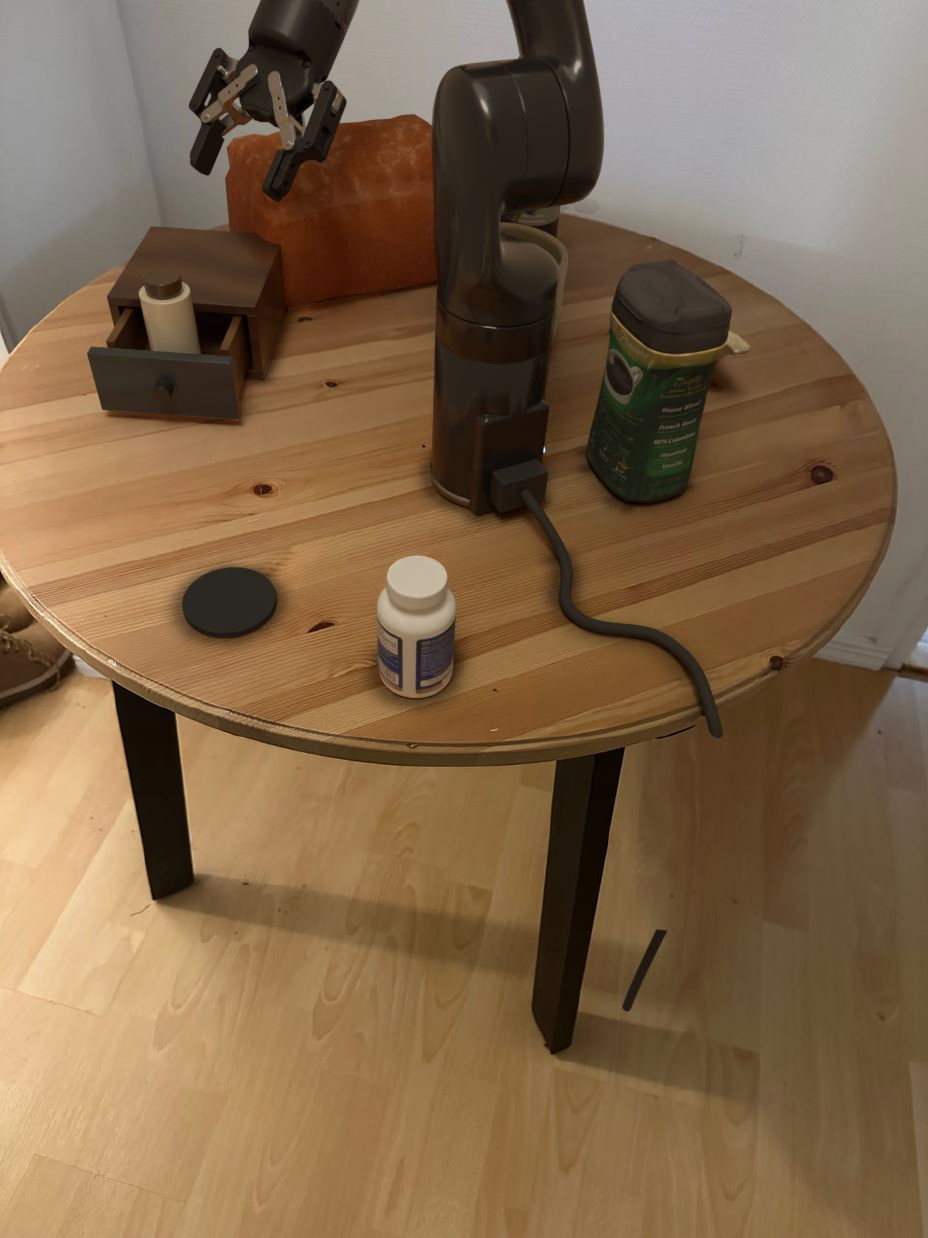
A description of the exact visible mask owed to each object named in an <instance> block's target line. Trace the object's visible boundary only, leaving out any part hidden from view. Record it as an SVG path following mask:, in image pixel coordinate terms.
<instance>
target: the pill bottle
mask: <svg viewBox="0 0 928 1238" xmlns="http://www.w3.org/2000/svg"><path fill="white" fill-rule="evenodd" d="M385 581H386V584H385V587H384V588H383V589H382V590H381V592H380V594H379V596H378V598H377V601H376V634H377V635H376V636H377V662H378V673H379V677H380V680H381V681H382V683H383V685H384V686H385V687H386V688H387V689H388V690H390V691H391V692H392V693H393V694H396V695H398V696H401V697H405V698H410V699H423V698H428V697H430V696H431V697H432V696H434V695H436V694H438V693H439V692H441V691H442V690H444V689H445V688H446V687H447V685H448V683H449V682H450V680H451V678H452V675H453V668H454V658H455V657H454V656H455V655H454V653H455V637H456V623H457V622H456V621H457V601H456V598H455V596H454V594H453V592H452V591H451V590H450V588H449V587H448V572H447V570H446V568H445V567H444V565H443V564H442V563H441V562H439V561H438V560H437V559H435V558H432V557H429V556H425V555H408V556H404V557H401V558H400V559H399V558H398V559H397V560H396V561H395V562H393V563H392V564H391V565H390V567H389V568H388V570H387V572H386V580H385Z"/></svg>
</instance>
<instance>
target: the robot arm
mask: <svg viewBox="0 0 928 1238" xmlns="http://www.w3.org/2000/svg"><path fill="white" fill-rule="evenodd" d="M359 3H360V0H259V3H258V5H257V8H256V10H255V13H254V14H253V18H252V19H251V22H250V24H249V27H248V30H247V36H248V47H247V50H246V51H245V53H244V54H243V55H242V56H241V58H240V59H238V58H234V57H232V56H229V55H228V54H227V53H226V52H225V50H224V49H222V48H221V47H217V48H215V49H214V50H213V51H212V53H211V55H210V57H209V60H208V62H207V63H206V66H205V68H204V70H203V72H202V74H201V77H200V79H199V81H198V82H197V85H196V87H195V90H194V91H193V94H192V96H191V98H190V100H189V103H188V109H189V110H190V111H191V112H192V113H193V114H194V115H195V116H196V117H197V118H198V119H199V120H200V127H199V130H198V132H197V134H196V137H195V140H194V142H193V144H192V147H191V149H190V151H189V165H190V166H191V167H192V168H193V169H194V170H196V171H197V172H198V173H199V174H201V175H204V176H206V177H208V176H210V175H211V173H212V171H213V169H214V167H215V164H216V162H217V159H218V157H219V155H220V153H221V149H222V147H223V145H224V142H225V138H224V137H225V136H226V135H228V133H230V132H231V131H232V130H234V129H235V128H236V127H237V126H246V125H247V124H248V123H250V122H251V121H252V120H254V121H255V122H259V123H268V124H270V125H272V126H273V127H274V128H277V129H279V132H280V136H281V142H282V147H283V151H282V150H279V149H278V150H277V152H276V155H275V157H274V159H273V162H272V164H271V166H270V169H269V171H268V173H267V176H266V178H265V181H264V183H263V186H262V190H263V192H264V193H265V194H266V195H267V196H268V197H270V198H271V199H272V200H275V201H278V202H280V201H281V200H282V198H283V196H284V197H285V196H286V195H287V194H288V193H289V191H290V188H291V185H292V184H293V181H294V179H295V177H296V174H297V172H298V170H299V167H300V165H301V164H303V163H305V162H306V161H307V160H316V161H317V162H319V163H321V162H323V161H325V159H326V158H327V155H328V152H329V150H330V147H331V144H332V142H333V139H334V136H335V134H336V131H337V128H338V125H339V123H341V121H342V118H343V114H344V113H345V110H346V107H347V103H348V101H347V98H346V96H344V94H343V93H342V91H341V90H340V89H339V88H338V86H337V85H336V84H335V83H334V82H333V81H332V80H330V79H328V78H329V76H330V73H331V71H332V69H333V66H334V65H335V61H336V59H337V57H338V55H339V52H340V50H341V47H342V45H343V43H344V41H345V38H346V36H347V33H348V31H349V29H350V26H351V24H352V22H353V19H354V17H355V15H356V13H357V10H358V7H359ZM505 3H506V6H507V8H508V12H509V15H510V19H511V22H512V23H511V24H512V26H513V32H514V35H515V39H516V46H517V50H518V56H520V58H518V57H517V58H508V59H497V60H488V61H477V62H470V63H463V64H459V65H455V66H453V67H451V68H450V69H448V70H447V71H446V72H445V73H444V74H443V76H442V78H441V79H440V80H439V83H438V85H437V89H436V92H435V94H434V99H433V106H432V111H431V112H432V114H431V151H432V178H433V241H434V254H435V263H436V273H437V281H436V300H435V331H434V359H433V360H434V365H433V392H432V393H433V396H432V431H431V433H432V434H431V443H432V444H431V460H430V464H429V465H430V466H429V469H430V470H429V476H430V481H431V483H432V486H433V487H434V488H435V490H436V491H437V492H438V493H439V494H440V495H441V496H443V498H445V499H447V500H448V501H451V502H453V503H454V504H457V505H459V506H462V507H466V508H468V509H470V510H471V511H472V512H473V514H474V515H476V516H479V515H483V514H486V513H490V512H493V511H498V513H499V514H503V513H506V512H509V511H513V510H516V509H519V508H522V507H526V508H527V509H528V510H529V512H530V513H531V514H532V516H533V518H535V520H536V521H537V523H538V525H539V527H540V528H541V529H542V531H543V533H544V535H545V536H546V538H547V540H548V541H549V543H550V545H551V547H552V549H553V551H554V552H555V555H556V557H557V561H558V563H559V568H560V582H559V589H558V590H559V591H558V600H559V604H560V607H561V609H562V610H563V611H564V613H565V615H566V616H567V617H568V618H569V619H570V620H571V621H573V622H574V623H575V624H577V625H578V626H580V627H582V628H584V629H585V630H588V631H592V632H595V633H599V634H605V635H612V636H613V635H614V636H623V637H633V638H639V639H644V640H648V641H651V642H653V643H655V644H658V645H659V646H661V647H663V648H664V649H666V650H667V651H668V652H669V653H671V654H672V655H673V656H674V657H675V658H677V659H678V660H679V662H681V663H682V664H683V666H685V668H686V669H687V671H688V672H689V674H690V676H691V678H692V680H693V683H694V685H695V687H696V690H697V693H698V696H699V700H700V703H701V706H702V707H701V708H702V711H703V713H704V717H705V721H706V724H707V728H708V732H709V733H710V735H711V736H712V737H714V738H715V739H721V738H722V737H723V736H724V732H723V727H722V723H721V717H720V715H719V711H718V707H717V704H716V701H715V697H714V694H713V691H712V688H711V685H710V683H709V680H708V678H707V676H706V674H705V672H704V670H703V668H702V666H701V665H700V663H699V662H698V660H697V659H696V658H695V657H694V656H693V654H692V653H691V652H690V651H689V650H688V649H687V648H686V647H685V646H684V645H682V644H681V643H680V642H679V641H677V640H676V639H674V638H673V637H671V636H670V635H668V634H667V633H665V632H663V631H660V630H658V629H656V628H653V627H649V626H645V625H639V624H633V623H623V622H612V621H604V620H600V619H596V618H593V617H590V616H589V615H586V614H585V613H583V612H582V611H581V610H579V609H578V608H577V607H576V606H575V604H574V603H573V601H572V594H571V591H572V584H573V564H572V561H571V557H570V555H569V553H568V550H567V547H566V545H565V543H564V542H563V540H562V538H561V536H560V534H559V533H558V531H557V529H556V528H555V526H554V524H553V523H552V521H551V520H550V518H549V516H548V515H547V514H546V512H545V511H544V509H543V508H542V506H541V505H540V503H539V502H542V501H545V500H546V492H547V486H548V478H549V470H548V469H547V468H546V467H545V466H544V465H543V458H544V453H545V452H546V447H545V444H546V436H547V430H548V423H549V414H550V406H549V404H548V403H547V402H546V393H547V386H548V385H547V384H548V377H549V371H550V363H551V356H552V355H551V354H552V347H553V346H552V345H553V341H552V339H553V333H554V325H555V318H556V310H557V302H558V295H559V287H560V270H559V267H558V264H557V262H556V261H555V259H554V258H553V257H552V256H551V255H550V254H549V253H548V252H547V251H546V250H544V249H543V248H541V247H539V246H538V245H536V244H534V243H532V242H529V241H527V240H524V239H521V238H518V237H515V236H511V235H507V234H503V233H500V219H501V215H503V214H510V213H517V212H524V211H530V210H537V209H543V208H548V207H556V206H560V207H561V206H567V205H572V204H576V203H579V202H581V201H583V200H584V199H586V198H587V197H588V196H589V195H591V193H592V191H593V190H594V189H595V187H596V186H597V183H598V180H599V178H600V175H601V171H602V167H603V162H604V151H605V120H604V118H605V117H604V109H603V99H602V94H601V93H602V92H601V86H600V80H599V74H598V68H597V64H596V58H595V52H594V48H593V42H592V37H591V32H590V26H589V21H588V15H587V11H586V6H585V5H586V4H585V1H584V0H505ZM209 95H210V97H209ZM208 98H209V100H208V102H207V99H208ZM237 99H238V100H239V104H240V106H239V105H238V104H237V103H236V102H235V101H236V100H237ZM206 102H207V103H206ZM312 106H313V108H312V111H311V113H310V116H309V119H308V121H307V124H306V118H305V112H306V111H307V110H308V109H309V108H310V107H312ZM225 114H226V115H225ZM224 115H225V116H224ZM222 116H224V117H222ZM221 117H222V118H221ZM553 340H554V339H553ZM667 933H668V930H666V929H659V928H658V929H655V931H654V933H653V935H652V937H651V939H650V942H649V944H648V945H647V948H646V950H645V952H644V953H643V956H642V959H641V961H640V963H639V965H638V967H637V969H636V971H635V974H634V977H633V978H632V981H631V983H630V985H629V988H628V989H627V993H626V995H625V997H624V1000H623V1003H622V1006H621V1008H622V1010H623V1011H624V1012H630V1011H631V1010H632V1008H633V1005H634V1002H635V1000H636V998H637V996H638V993H639V991H640V989H641V986H642V984H643V982H644V980H645V977H646V976H647V974H648V971H649V970H650V967H651V965H652V963H653V962H654V959H655V957H656V955H657V953H658V951H659V949H660V947H661V945H662V944H663V941H664V939H665V937H666V935H667Z"/></svg>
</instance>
